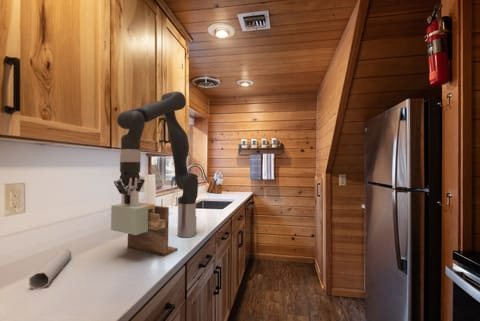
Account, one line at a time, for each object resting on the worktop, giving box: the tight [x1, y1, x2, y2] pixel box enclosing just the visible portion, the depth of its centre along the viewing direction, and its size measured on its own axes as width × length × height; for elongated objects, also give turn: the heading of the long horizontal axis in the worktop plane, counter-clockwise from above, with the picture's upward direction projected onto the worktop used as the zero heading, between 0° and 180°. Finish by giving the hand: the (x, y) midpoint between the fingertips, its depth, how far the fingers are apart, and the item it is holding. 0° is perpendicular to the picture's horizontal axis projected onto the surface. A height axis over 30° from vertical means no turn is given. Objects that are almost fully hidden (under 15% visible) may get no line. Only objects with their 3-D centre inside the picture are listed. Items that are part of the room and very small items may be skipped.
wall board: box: [127, 205, 179, 257], centre depth 109 cm, size 12×22×20 cm, turn 64°
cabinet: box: [110, 191, 156, 235], centre depth 102 cm, size 10×14×16 cm
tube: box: [28, 248, 72, 290], centre depth 87 cm, size 5×5×25 cm
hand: (129, 203), depth 100 cm, fingers closed on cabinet, 1 cm apart
